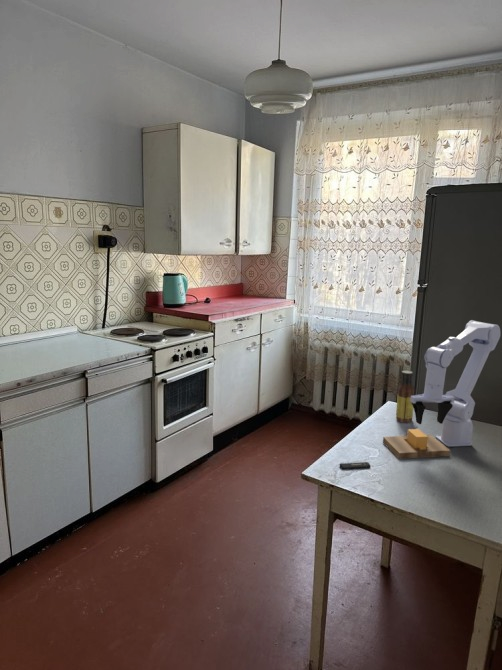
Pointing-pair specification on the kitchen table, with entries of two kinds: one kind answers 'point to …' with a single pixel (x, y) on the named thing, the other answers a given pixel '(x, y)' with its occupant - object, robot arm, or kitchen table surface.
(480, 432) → the kitchen table surface
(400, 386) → the sauce bottle
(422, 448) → the block
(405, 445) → the pocket board
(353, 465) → the usb stick
